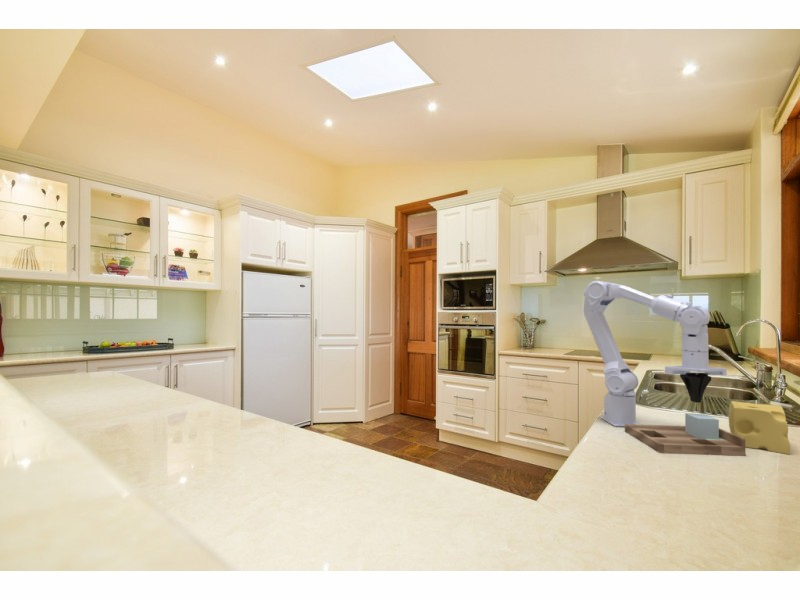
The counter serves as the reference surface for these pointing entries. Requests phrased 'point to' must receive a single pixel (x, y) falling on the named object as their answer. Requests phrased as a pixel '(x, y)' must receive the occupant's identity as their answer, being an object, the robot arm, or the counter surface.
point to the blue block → (702, 426)
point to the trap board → (686, 440)
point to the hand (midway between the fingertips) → (695, 401)
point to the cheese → (760, 426)
